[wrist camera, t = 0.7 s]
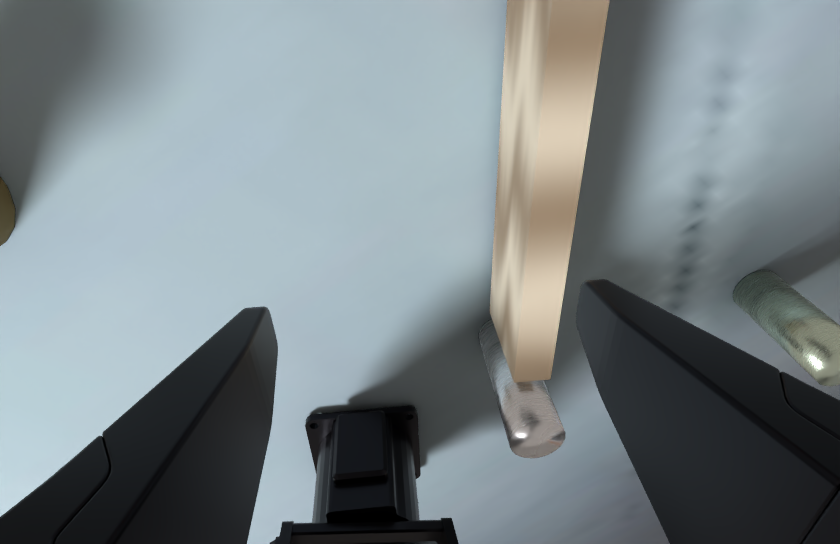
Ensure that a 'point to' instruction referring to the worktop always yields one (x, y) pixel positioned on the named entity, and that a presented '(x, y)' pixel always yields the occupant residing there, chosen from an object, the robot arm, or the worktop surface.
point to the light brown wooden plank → (541, 170)
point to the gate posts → (755, 294)
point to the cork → (6, 213)
